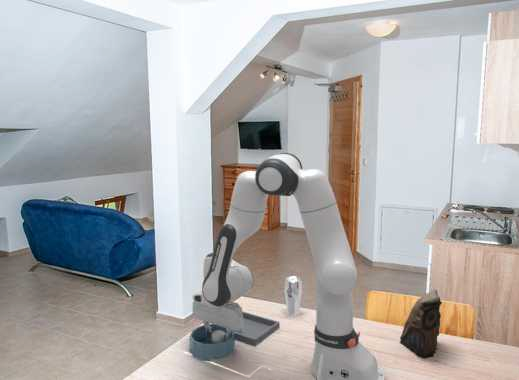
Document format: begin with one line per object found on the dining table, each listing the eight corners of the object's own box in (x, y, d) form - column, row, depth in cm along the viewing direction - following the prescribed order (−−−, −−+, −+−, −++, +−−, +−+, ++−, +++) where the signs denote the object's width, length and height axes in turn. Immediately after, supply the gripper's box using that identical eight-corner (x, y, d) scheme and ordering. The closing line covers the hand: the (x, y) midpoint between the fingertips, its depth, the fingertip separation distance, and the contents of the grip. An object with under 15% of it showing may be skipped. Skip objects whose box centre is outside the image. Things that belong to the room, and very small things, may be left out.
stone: (227, 341, 149) (227, 332, 148) (219, 347, 145) (219, 338, 144) (217, 338, 151) (217, 329, 151) (209, 343, 148) (208, 334, 147)
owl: (433, 339, 151) (436, 286, 148) (451, 359, 139) (455, 300, 136) (398, 341, 150) (400, 287, 147) (414, 361, 138) (417, 302, 135)
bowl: (242, 345, 148) (242, 330, 147) (215, 365, 136) (215, 349, 135) (210, 334, 156) (209, 320, 155) (181, 352, 144) (181, 337, 143)
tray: (279, 329, 159) (279, 321, 159) (255, 348, 146) (255, 339, 146) (236, 316, 170) (236, 309, 170) (210, 332, 157) (210, 325, 157)
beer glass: (304, 313, 173) (304, 277, 171) (296, 319, 167) (297, 283, 165) (289, 309, 177) (289, 274, 175) (281, 315, 171) (281, 280, 169)
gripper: (247, 301, 143) (247, 339, 145) (201, 288, 154) (202, 324, 156) (235, 307, 137) (236, 347, 140) (189, 294, 149) (190, 331, 151)
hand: (218, 335), depth 148 cm, fingers open, 7 cm apart
